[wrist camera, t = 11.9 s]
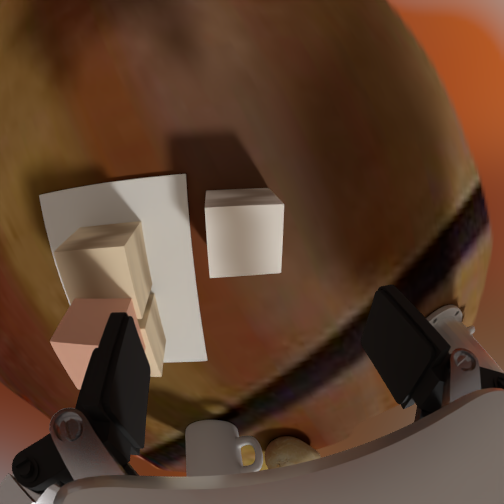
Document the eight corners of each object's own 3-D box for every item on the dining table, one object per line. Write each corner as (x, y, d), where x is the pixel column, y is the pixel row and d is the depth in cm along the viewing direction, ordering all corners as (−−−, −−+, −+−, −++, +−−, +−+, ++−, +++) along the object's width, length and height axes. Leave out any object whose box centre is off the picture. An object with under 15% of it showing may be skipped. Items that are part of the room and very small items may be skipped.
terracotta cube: (131, 298, 18) (114, 346, 14) (145, 347, 20) (136, 395, 16) (74, 298, 17) (49, 341, 13) (93, 345, 19) (77, 389, 15)
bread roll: (285, 458, 47) (292, 487, 40) (249, 444, 41) (255, 480, 34) (323, 443, 46) (334, 472, 39) (295, 427, 40) (306, 464, 32)
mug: (202, 443, 39) (206, 495, 29) (175, 425, 35) (174, 485, 25) (265, 428, 38) (277, 483, 28) (244, 408, 34) (255, 474, 24)
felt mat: (186, 173, 20) (185, 174, 20) (207, 358, 29) (207, 360, 28) (40, 194, 18) (39, 195, 18) (95, 358, 27) (95, 360, 27)
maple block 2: (154, 293, 24) (145, 328, 19) (166, 340, 26) (161, 376, 22) (98, 295, 23) (80, 328, 19) (114, 340, 26) (103, 374, 21)
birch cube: (268, 187, 22) (284, 204, 17) (267, 244, 24) (280, 272, 19) (206, 190, 21) (204, 207, 17) (209, 248, 23) (209, 277, 19)
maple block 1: (141, 221, 21) (124, 246, 16) (152, 284, 23) (142, 318, 19) (79, 227, 20) (53, 252, 16) (95, 286, 23) (76, 318, 18)
